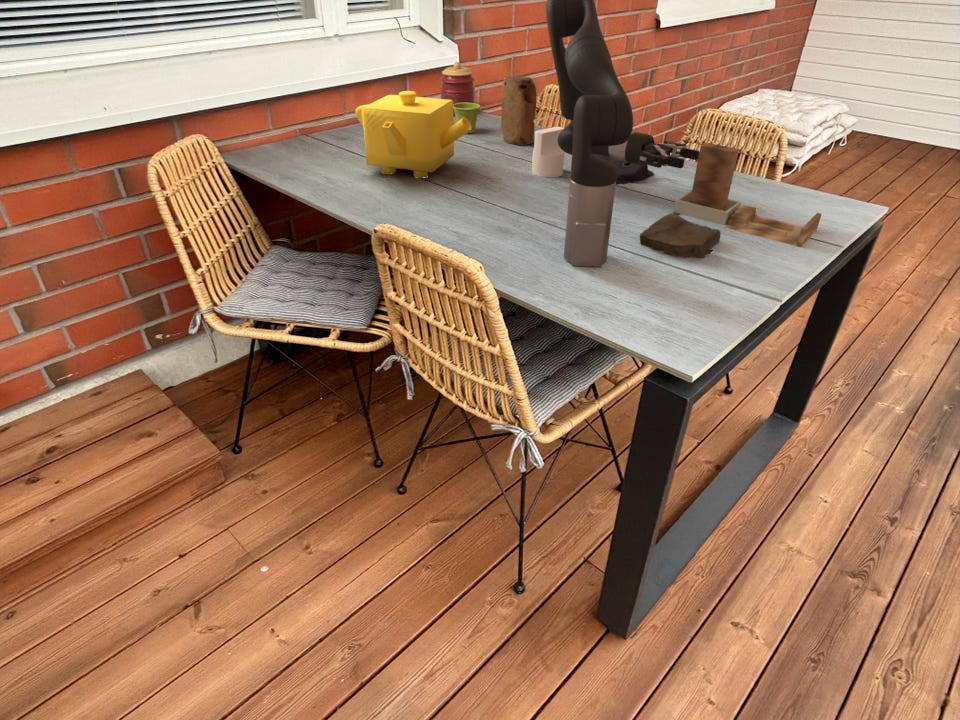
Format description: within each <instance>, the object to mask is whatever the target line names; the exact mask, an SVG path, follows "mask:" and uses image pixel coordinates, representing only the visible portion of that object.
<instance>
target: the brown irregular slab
mask: <svg viewBox="0 0 960 720" xmlns="http://www.w3.org/2000/svg"><path fill="white" fill-rule="evenodd" d="M648 227H649V228H646V229H644V230H643V231H642V232H641V233H640V234H639V243H640V245H641V246H645V247H648V248H651V249H652V250H654V251H657V252H662V253H664V254H667V255H670V256H675V257H677V258H678V257H679V258H680V257H681V258H698V259H704V258H706V256H707V255H709V254H711V253H712V252H714V251H713V249H712V248H713V247H716V245H718V244H719V243H720V241H721V231H720V230H719V229H715V228H711V227H710V226H707V225H699V224H696V223H693V222H691V221H688V220H687V219H686V218H683V217H682V216H681V215H677V214H673V212H672V213H667V214H666V215H664V216H662V217H660V218H659V219H657V220H656V221H655V222H654V223H652V224H650V225H649V226H648Z"/></svg>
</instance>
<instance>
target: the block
mask: <svg viewBox="0 0 960 720" xmlns="http://www.w3.org/2000/svg"><path fill="white" fill-rule="evenodd" d="M501 90H502V91H501V113H500V114H501V115H500V117H501V118H500V120H501V122H500V125H501V126H500V129H501V130H500V131H501V133H502V135H503V136H502V139H503V141H504V142H505V143H507V142H508V143H507V144H511V145H518V146H527V145H530V144H532V143H533V141H534V140H535V121H534V120H535V118H536V110H537V88H536V85H535V83H534V80H533V79H532V77H529V76H526V75H525V76H524V75H514V76H511V75H509V76H505V77H504V78H503V82H502V89H501Z"/></svg>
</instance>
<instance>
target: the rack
mask: <svg viewBox="0 0 960 720" xmlns="http://www.w3.org/2000/svg"><path fill="white" fill-rule="evenodd" d="M756 209H757V207H753V206H751V205H745V204H743V205H742V206H740V208H739V209H738V210H737V211H736V212H734V213H733V214H732V215H731V216H730V220H729V221H728V223H727V224H725V225H724V228H725V229H729V230H733V231H737V232H740V233H744V234H748V235H751V236H752V235H753V236H757V237H760V238H764V239H768V240H772V241H775V242H780V243H783V244H788V245H790V246H791V245H792V246H795V247H799V248H801V247H803V245H804V244H806V242H807V241H808V240H809V239H810V238H812V236H813V235H814V234H815V233H816V232H817V229H818V226H819V223H820V222H821V218H822V213H819V212H816V213H815V214H814V215H813V217H811V219H809V220H808V221H807V222H806V224H805V225H803V226H801V225H797V224H793V223H789V222H784V221H780V220H776V219H772V218H768V217H764V216H760V215H758V214H757V210H756Z"/></svg>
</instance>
